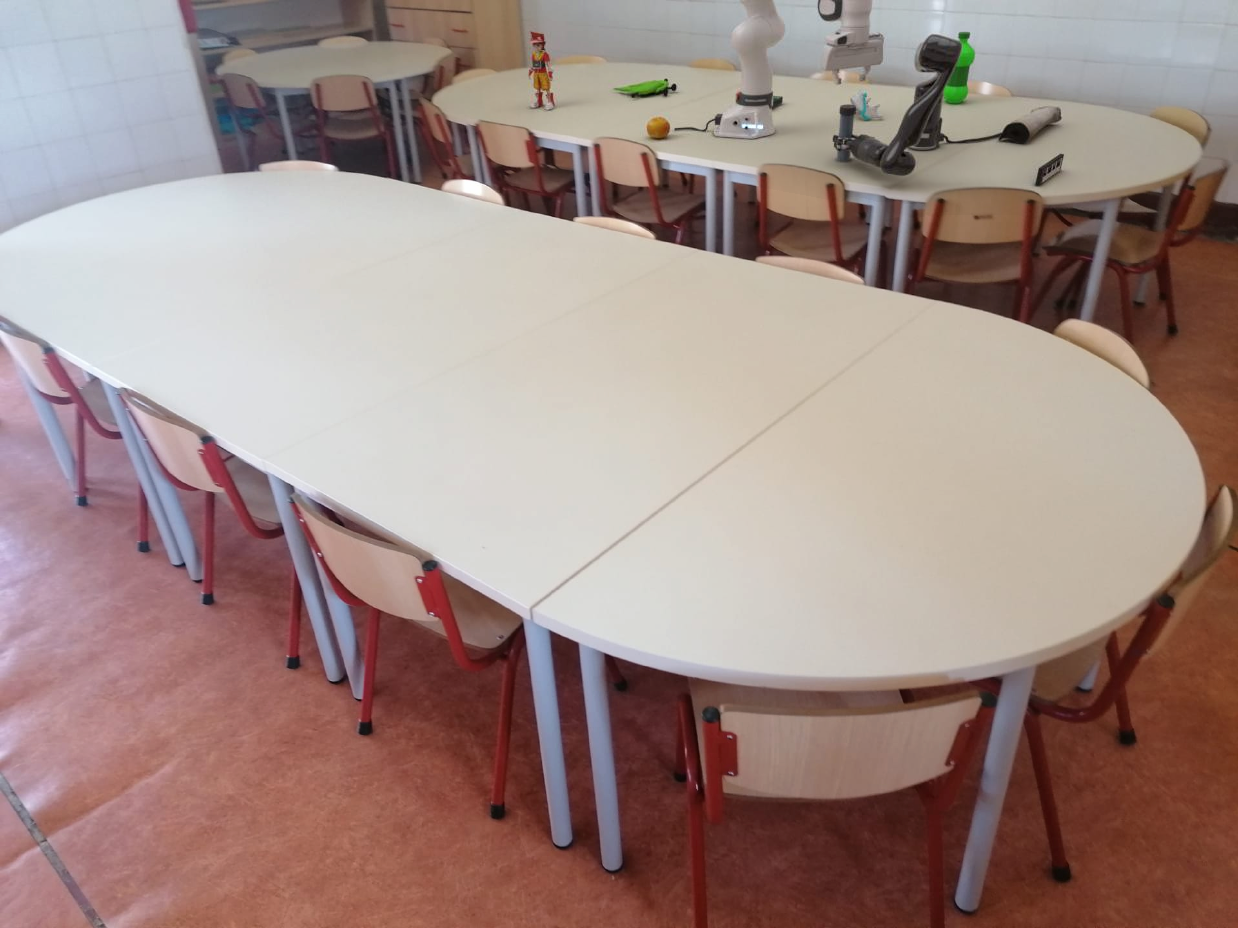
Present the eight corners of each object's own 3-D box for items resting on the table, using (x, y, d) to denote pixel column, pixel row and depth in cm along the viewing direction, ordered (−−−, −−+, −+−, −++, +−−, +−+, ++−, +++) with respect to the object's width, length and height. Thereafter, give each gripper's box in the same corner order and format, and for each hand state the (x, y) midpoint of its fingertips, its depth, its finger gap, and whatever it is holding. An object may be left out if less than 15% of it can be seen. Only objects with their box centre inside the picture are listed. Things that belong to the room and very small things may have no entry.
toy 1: (525, 109, 381) (517, 32, 364) (534, 104, 388) (527, 28, 371) (550, 110, 377) (543, 32, 360) (559, 105, 384) (553, 28, 367)
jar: (833, 159, 302) (838, 107, 292) (844, 157, 303) (849, 105, 294) (841, 162, 298) (846, 110, 289) (852, 160, 300) (857, 108, 290)
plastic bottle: (973, 101, 354) (984, 32, 339) (955, 106, 349) (966, 36, 335) (952, 97, 361) (962, 29, 346) (934, 102, 356) (944, 33, 342)
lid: (836, 113, 293) (836, 106, 292) (849, 111, 295) (850, 103, 294) (845, 116, 290) (846, 109, 288) (858, 114, 291) (859, 106, 290)
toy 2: (686, 85, 398) (631, 84, 414) (685, 72, 395) (629, 72, 411) (651, 104, 381) (596, 103, 397) (650, 92, 378) (594, 91, 394)
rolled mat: (1028, 111, 326) (1053, 93, 318) (1042, 132, 326) (1067, 115, 318) (994, 134, 309) (1019, 116, 300) (1008, 156, 309) (1034, 139, 301)
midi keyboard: (1039, 185, 269) (1043, 168, 266) (1035, 184, 270) (1038, 168, 267) (1060, 170, 279) (1064, 154, 277) (1056, 169, 280) (1060, 153, 277)
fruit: (639, 130, 331) (651, 110, 328) (647, 132, 339) (658, 113, 336) (657, 142, 330) (669, 123, 327) (664, 145, 338) (676, 126, 335)
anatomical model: (845, 89, 345) (871, 82, 345) (847, 116, 351) (873, 109, 351) (856, 98, 333) (883, 91, 332) (859, 126, 339) (885, 119, 338)
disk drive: (768, 112, 357) (782, 103, 367) (768, 105, 355) (783, 96, 365) (744, 110, 362) (759, 101, 372) (744, 103, 360) (759, 94, 370)
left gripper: (879, 30, 284) (874, 77, 291) (820, 37, 279) (817, 84, 287) (889, 33, 279) (884, 81, 286) (829, 40, 274) (826, 88, 282)
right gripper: (889, 134, 285) (860, 122, 299) (849, 141, 282) (822, 128, 295) (886, 158, 289) (858, 145, 303) (847, 165, 286) (820, 151, 299)
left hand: (850, 82), depth 287 cm, fingers open, 7 cm apart
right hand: (840, 137), depth 299 cm, fingers closed on jar, 4 cm apart
